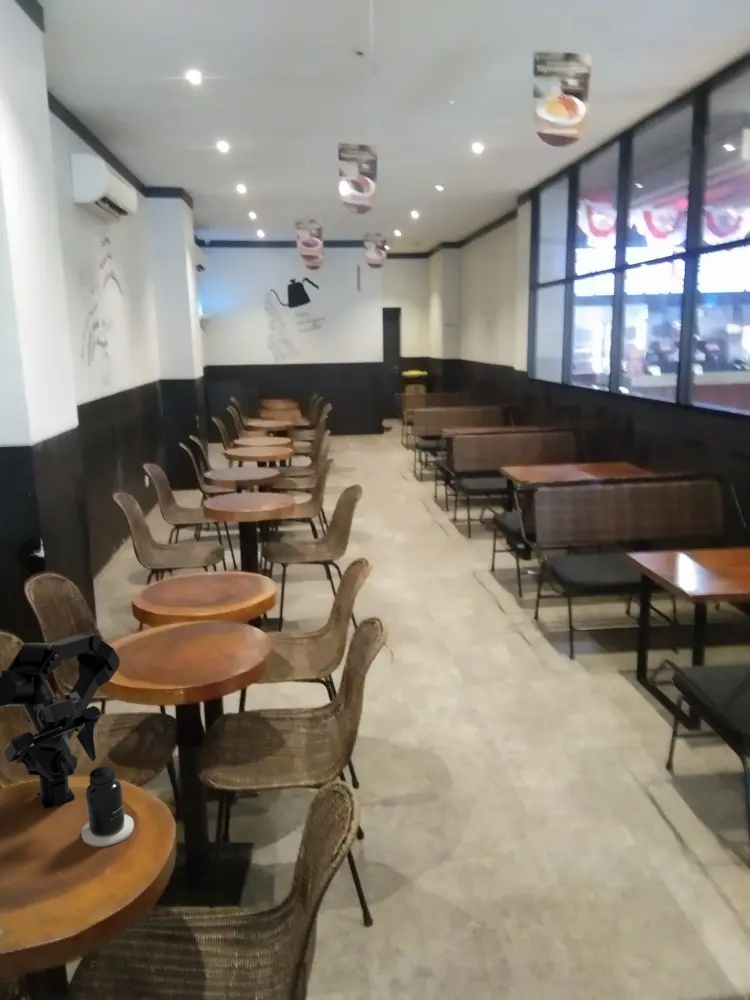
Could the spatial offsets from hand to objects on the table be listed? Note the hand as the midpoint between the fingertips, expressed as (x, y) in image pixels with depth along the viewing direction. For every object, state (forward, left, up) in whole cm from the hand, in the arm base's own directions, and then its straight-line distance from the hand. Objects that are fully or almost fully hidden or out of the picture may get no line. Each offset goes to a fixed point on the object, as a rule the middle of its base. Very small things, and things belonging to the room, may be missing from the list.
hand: (73, 769), depth 155 cm
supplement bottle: (+4, +5, -13) cm, 14 cm away
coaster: (+4, +5, -14) cm, 15 cm away
